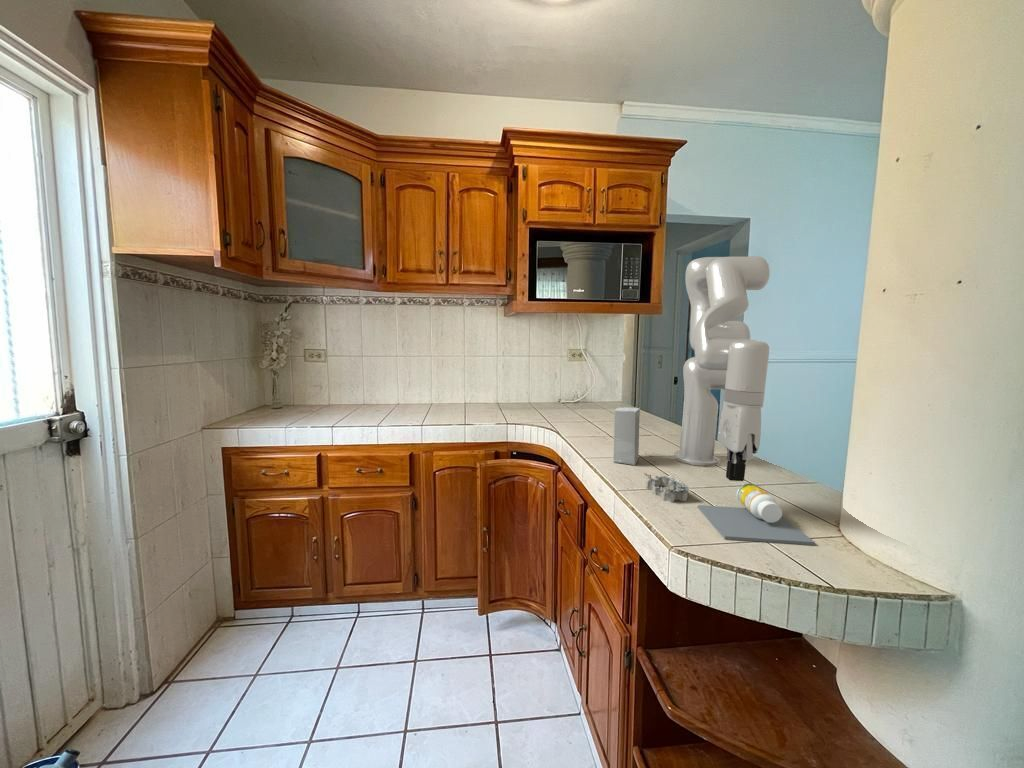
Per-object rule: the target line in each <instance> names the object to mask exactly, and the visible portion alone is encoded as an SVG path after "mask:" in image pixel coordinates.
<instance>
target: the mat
mask: <svg viewBox="0 0 1024 768" xmlns="http://www.w3.org/2000/svg"><path fill="white" fill-rule="evenodd" d="M697 508H698V509H699V511H700V512H701V513H702V514H703V515H704V516H705V518H706V519H707V520H708V521H709V522H710V524H711V525H712V526H713V527H714V528H715V530H716V531H717V532H718V533H719V535H721V536H722V538H723V539H724V540H732V541H746V542H757V543H758V542H761V543H774V544H775V543H778V544H789V545H790V544H792V545H802V546H803V545H804V546H805V545H806V546H816V542H815V541H814V540H813V539H812V538H811V537H809V536H808V535H807V534H805V533H804V532H803V531H802V530H800V529H799V528H798V527H796V525H794V524H793V523H791V521H789V520H788V519H787V518H785V517H784V516H783V515H782V516H781V518H780V519H779V520H778V521H776V522H773V523H770V522H766V521H765V520H762V519H759V518H757V517H755V516H754V515H753V514H752V513H751V512H749V511H748V510H747V509H746V508H745V507H737V506H719V505H707V504H705V505H704V504H698V505H697Z"/></svg>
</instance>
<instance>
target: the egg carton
mask: <svg viewBox="0 0 1024 768" xmlns="http://www.w3.org/2000/svg"><path fill="white" fill-rule="evenodd" d="M643 474H644V475H645V476H646V477H647V478H646V480H645V485H644V486H645V490H647V491H652V494H653V495H655V496H660V500H662V502H663V501H664V502H665V501H666V502H668V503H674V502H675V501H677V500H678V501H682V502H687V499H688V497H689V490H690V489H691V488H692V486H689V485H686V484H685V483H684V482H683V481H682V482H681V481H680V480H678V479H677V478H675V476H673V475H661V476H658V475H655V478H652V475H651V474H647V472H644V473H643Z"/></svg>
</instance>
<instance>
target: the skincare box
mask: <svg viewBox="0 0 1024 768" xmlns="http://www.w3.org/2000/svg"><path fill="white" fill-rule="evenodd" d="M640 409H641V408H640V407H627V406H626V407H622V406H619V407H616V408H615V409H614V413H613V415H614V417H613V459H612V460H613V461H612V462H614V463H617V464H618V463H619V464H625V465H630V466H631V465H632V466H636V464H637V462H638V461H639V455H640V454H639V453H640V452H639V450H640V449H639V447H640V446H639V445H640V441H639V439H640V415H641V414H640V413H641V411H640Z"/></svg>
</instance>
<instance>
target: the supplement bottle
mask: <svg viewBox="0 0 1024 768" xmlns="http://www.w3.org/2000/svg"><path fill="white" fill-rule="evenodd" d="M736 498H737V501H738V502H739V504H741V505H742V506H743V508H746V509H747V510H748V511H749V512H751V513H752V514H753V515H754V516H755V517H757V518H759V519H762V520H765V521H766V522H770V523H773V522H776V521H778V520H779V519H780V518H781V516H782V517H783V509H782V508H781V507H780V505H779V503H778V501H777V500H776V498H774V497H773V496H772V495H771V494H770V493H768V492H766V491H765V490H764V489H762V488H761V487H759V485H757V484H755V483H754V484H753V483H749V482H748V483H744V484H743V485H741V486H739V488H738V489H737V491H736Z"/></svg>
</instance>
